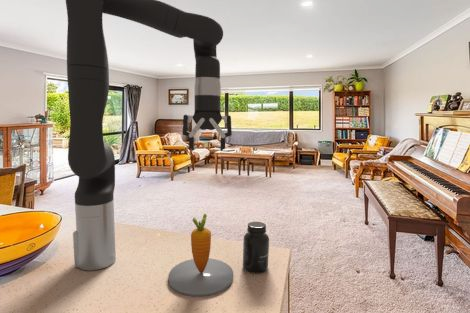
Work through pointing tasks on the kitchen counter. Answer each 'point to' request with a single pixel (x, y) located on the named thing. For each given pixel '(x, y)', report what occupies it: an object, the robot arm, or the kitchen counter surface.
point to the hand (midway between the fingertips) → (207, 150)
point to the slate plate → (200, 278)
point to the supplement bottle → (256, 248)
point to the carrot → (200, 244)
